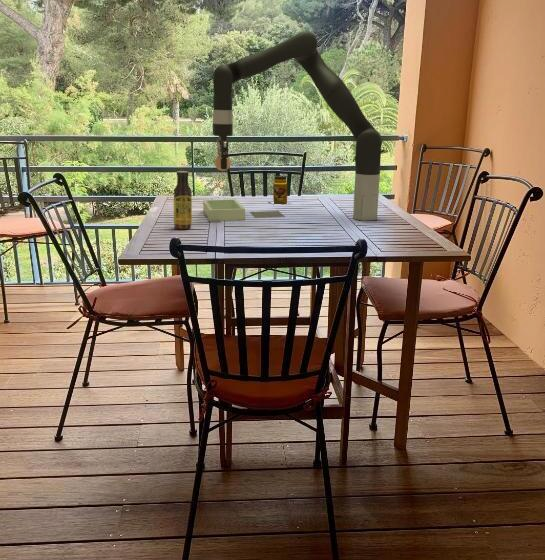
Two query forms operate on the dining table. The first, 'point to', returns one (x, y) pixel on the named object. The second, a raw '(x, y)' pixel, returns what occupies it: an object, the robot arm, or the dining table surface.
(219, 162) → the ball
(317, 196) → the dining table surface
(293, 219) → the dining table surface
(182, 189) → the sauce bottle
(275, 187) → the condiment
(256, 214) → the mat
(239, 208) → the tray
